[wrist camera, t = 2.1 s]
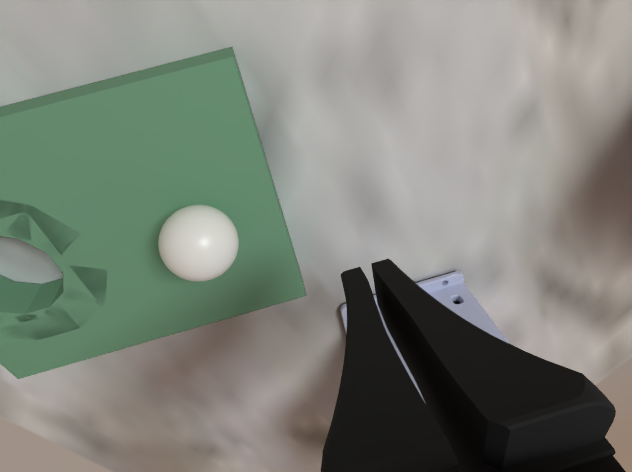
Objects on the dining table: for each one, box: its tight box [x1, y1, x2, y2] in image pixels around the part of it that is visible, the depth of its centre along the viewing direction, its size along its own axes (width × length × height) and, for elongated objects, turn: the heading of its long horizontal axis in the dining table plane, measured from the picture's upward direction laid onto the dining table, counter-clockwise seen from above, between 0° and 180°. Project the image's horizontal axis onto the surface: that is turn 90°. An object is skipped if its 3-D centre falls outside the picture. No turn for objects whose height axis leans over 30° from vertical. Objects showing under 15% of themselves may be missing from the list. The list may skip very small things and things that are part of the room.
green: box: [0, 47, 306, 379], centre depth 19 cm, size 18×14×5 cm
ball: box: [158, 205, 239, 282], centre depth 18 cm, size 4×4×4 cm
